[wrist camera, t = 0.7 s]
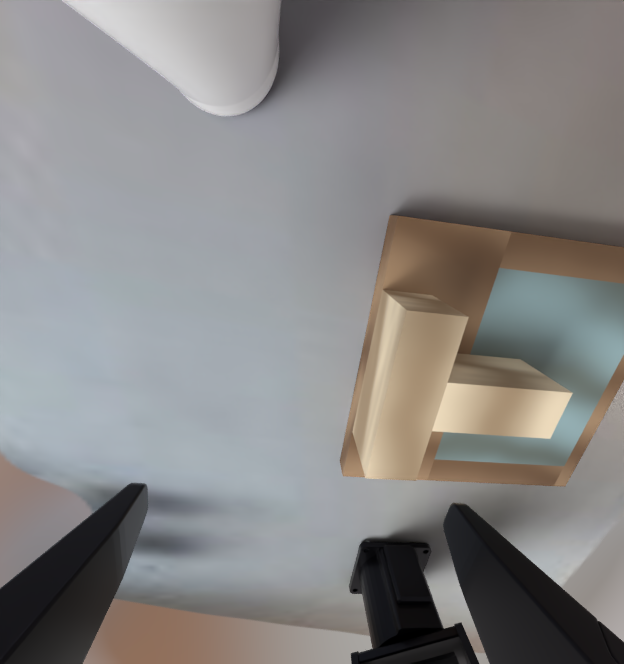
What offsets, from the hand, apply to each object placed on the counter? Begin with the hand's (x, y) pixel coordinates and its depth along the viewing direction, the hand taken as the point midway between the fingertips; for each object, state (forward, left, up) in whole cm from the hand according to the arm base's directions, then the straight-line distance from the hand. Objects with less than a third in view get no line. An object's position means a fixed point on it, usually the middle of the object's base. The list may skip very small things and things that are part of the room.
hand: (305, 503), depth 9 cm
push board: (-1, -13, -12) cm, 18 cm away
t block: (-1, -9, -11) cm, 14 cm away
